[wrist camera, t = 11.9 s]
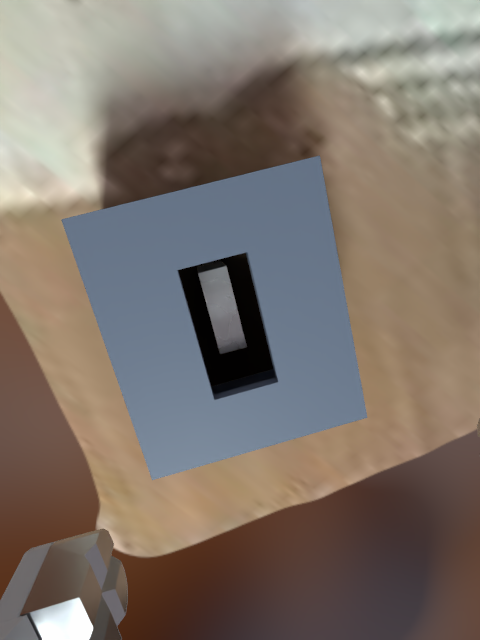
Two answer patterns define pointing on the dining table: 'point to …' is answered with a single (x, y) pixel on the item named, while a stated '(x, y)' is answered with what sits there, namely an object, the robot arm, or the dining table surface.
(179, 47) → the dining table surface
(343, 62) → the dining table surface
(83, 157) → the dining table surface
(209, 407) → the coin box
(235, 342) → the grey rectangular block
